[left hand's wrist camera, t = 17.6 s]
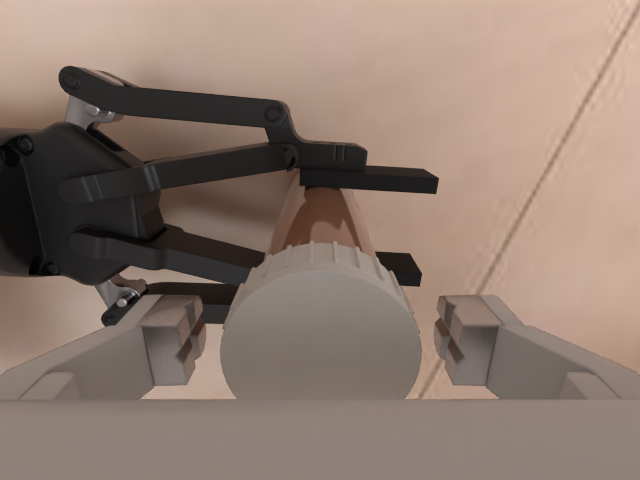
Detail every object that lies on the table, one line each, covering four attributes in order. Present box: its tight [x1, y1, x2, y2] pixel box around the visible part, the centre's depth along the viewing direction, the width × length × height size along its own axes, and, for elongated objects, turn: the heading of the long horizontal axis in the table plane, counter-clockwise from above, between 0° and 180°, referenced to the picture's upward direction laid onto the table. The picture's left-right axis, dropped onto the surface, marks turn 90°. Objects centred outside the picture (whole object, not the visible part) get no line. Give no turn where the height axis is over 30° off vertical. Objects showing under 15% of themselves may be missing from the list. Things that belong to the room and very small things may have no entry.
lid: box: [220, 240, 422, 399], centre depth 9 cm, size 5×5×2 cm
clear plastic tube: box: [262, 171, 377, 263], centre depth 17 cm, size 4×4×17 cm
